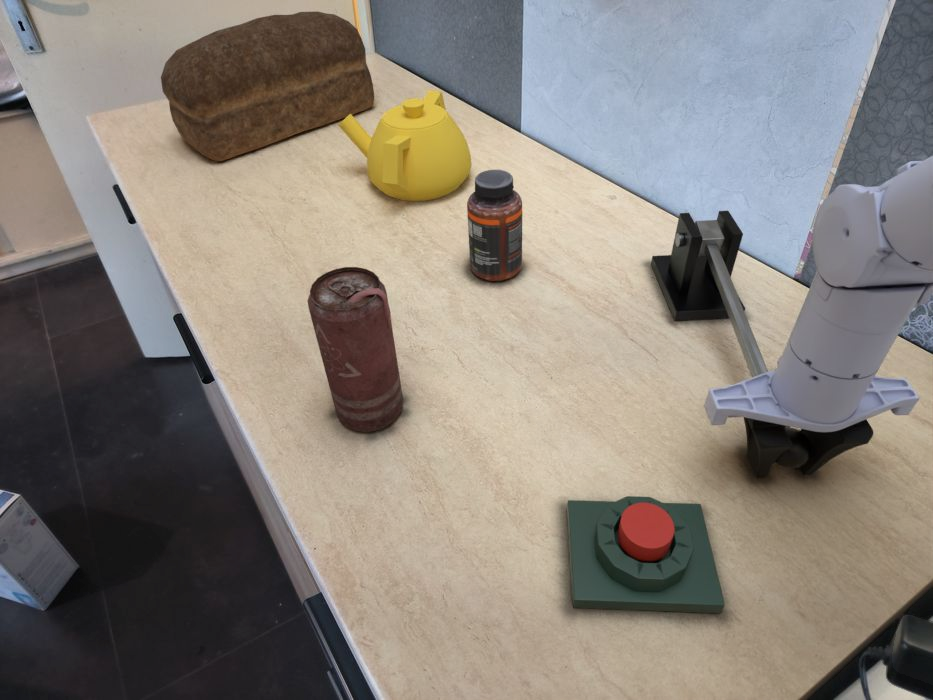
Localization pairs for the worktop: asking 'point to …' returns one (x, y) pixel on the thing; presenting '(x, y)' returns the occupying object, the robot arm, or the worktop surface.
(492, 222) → the supplement bottle
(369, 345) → the can
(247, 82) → the bread
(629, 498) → the button box
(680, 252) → the bracket
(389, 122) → the teapot
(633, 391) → the worktop surface
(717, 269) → the grey lever handle
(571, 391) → the worktop surface
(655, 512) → the button
